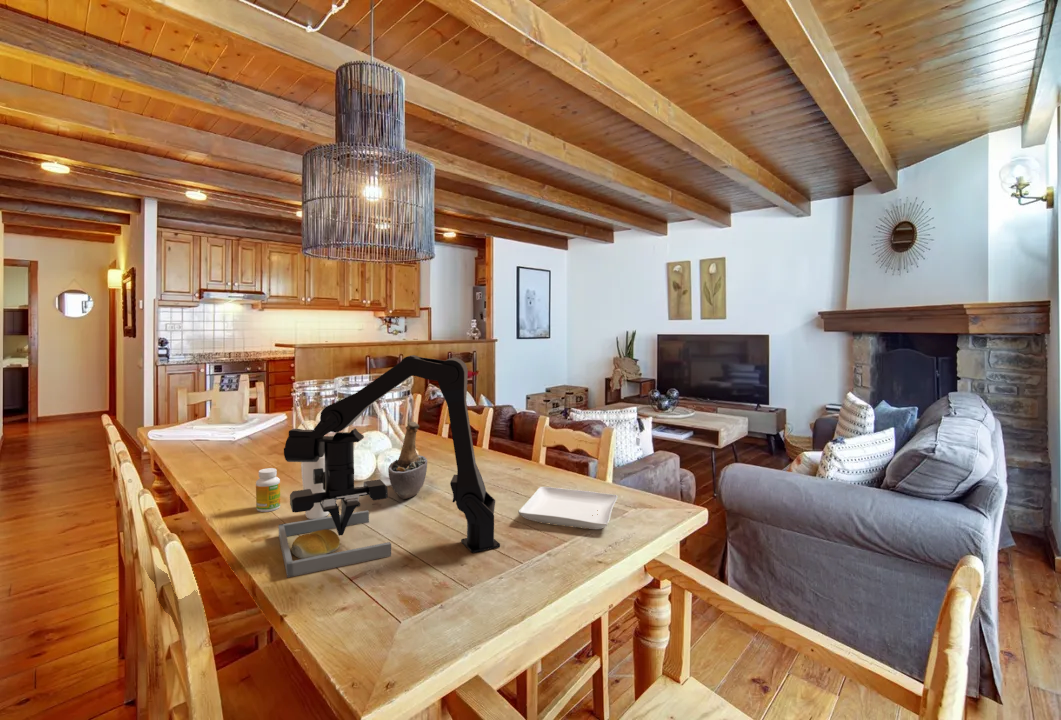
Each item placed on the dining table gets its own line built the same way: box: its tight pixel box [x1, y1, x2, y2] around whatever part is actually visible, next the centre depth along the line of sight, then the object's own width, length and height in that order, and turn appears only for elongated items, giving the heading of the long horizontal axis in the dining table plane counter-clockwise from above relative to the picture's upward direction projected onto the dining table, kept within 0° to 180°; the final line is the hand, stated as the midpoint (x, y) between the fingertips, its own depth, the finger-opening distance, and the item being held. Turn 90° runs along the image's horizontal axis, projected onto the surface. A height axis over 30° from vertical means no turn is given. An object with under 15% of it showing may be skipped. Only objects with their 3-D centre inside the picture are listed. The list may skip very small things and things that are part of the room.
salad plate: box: [518, 486, 619, 530], centre depth 129 cm, size 21×21×3 cm
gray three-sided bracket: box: [278, 509, 392, 578], centre depth 109 cm, size 21×19×2 cm
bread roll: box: [290, 529, 341, 559], centre depth 107 cm, size 8×9×4 cm
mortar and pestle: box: [387, 421, 428, 500], centre depth 141 cm, size 15×17×20 cm
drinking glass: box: [300, 453, 330, 520], centre depth 125 cm, size 7×7×15 cm
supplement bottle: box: [255, 467, 281, 513], centre depth 129 cm, size 5×5×10 cm
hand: (340, 534), depth 110 cm, fingers closed
